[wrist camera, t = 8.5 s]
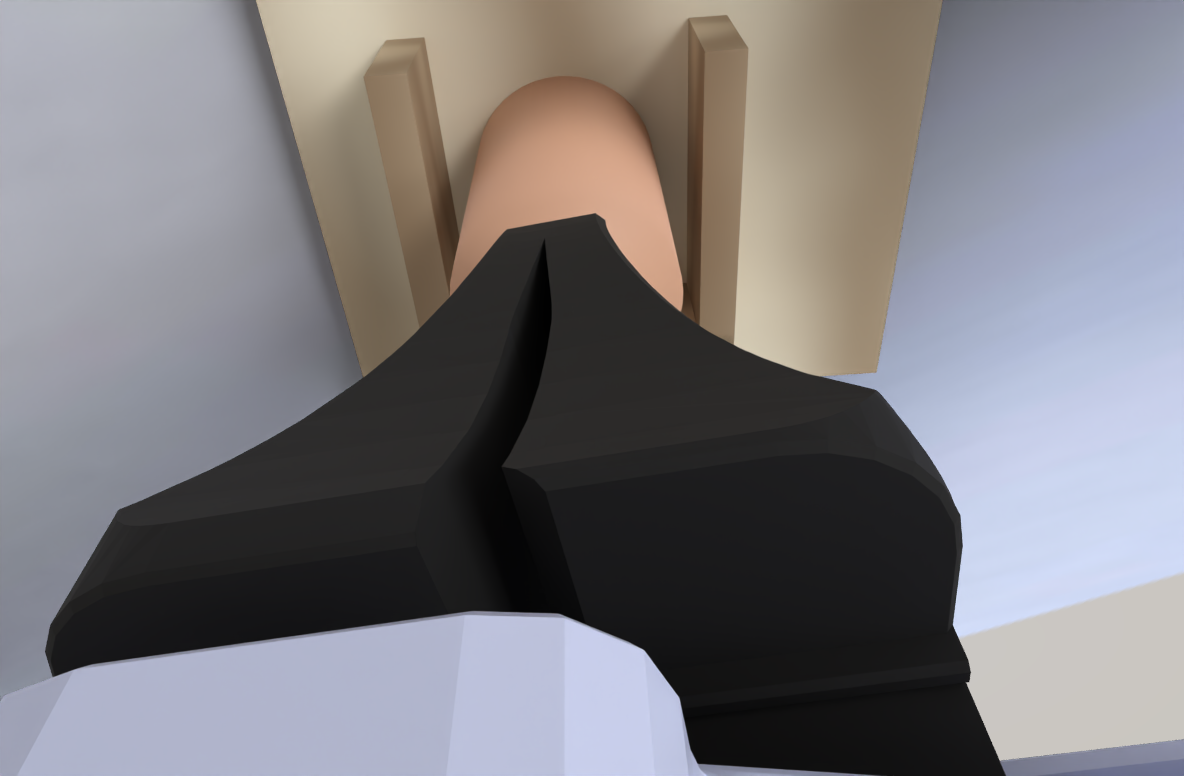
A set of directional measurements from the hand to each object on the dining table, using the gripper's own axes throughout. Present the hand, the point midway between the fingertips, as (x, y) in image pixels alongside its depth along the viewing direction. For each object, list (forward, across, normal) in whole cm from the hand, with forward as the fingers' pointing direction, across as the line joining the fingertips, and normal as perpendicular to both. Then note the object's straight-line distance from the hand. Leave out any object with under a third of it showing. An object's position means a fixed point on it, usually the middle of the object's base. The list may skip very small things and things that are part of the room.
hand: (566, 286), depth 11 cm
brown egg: (+8, 0, +2) cm, 8 cm away
